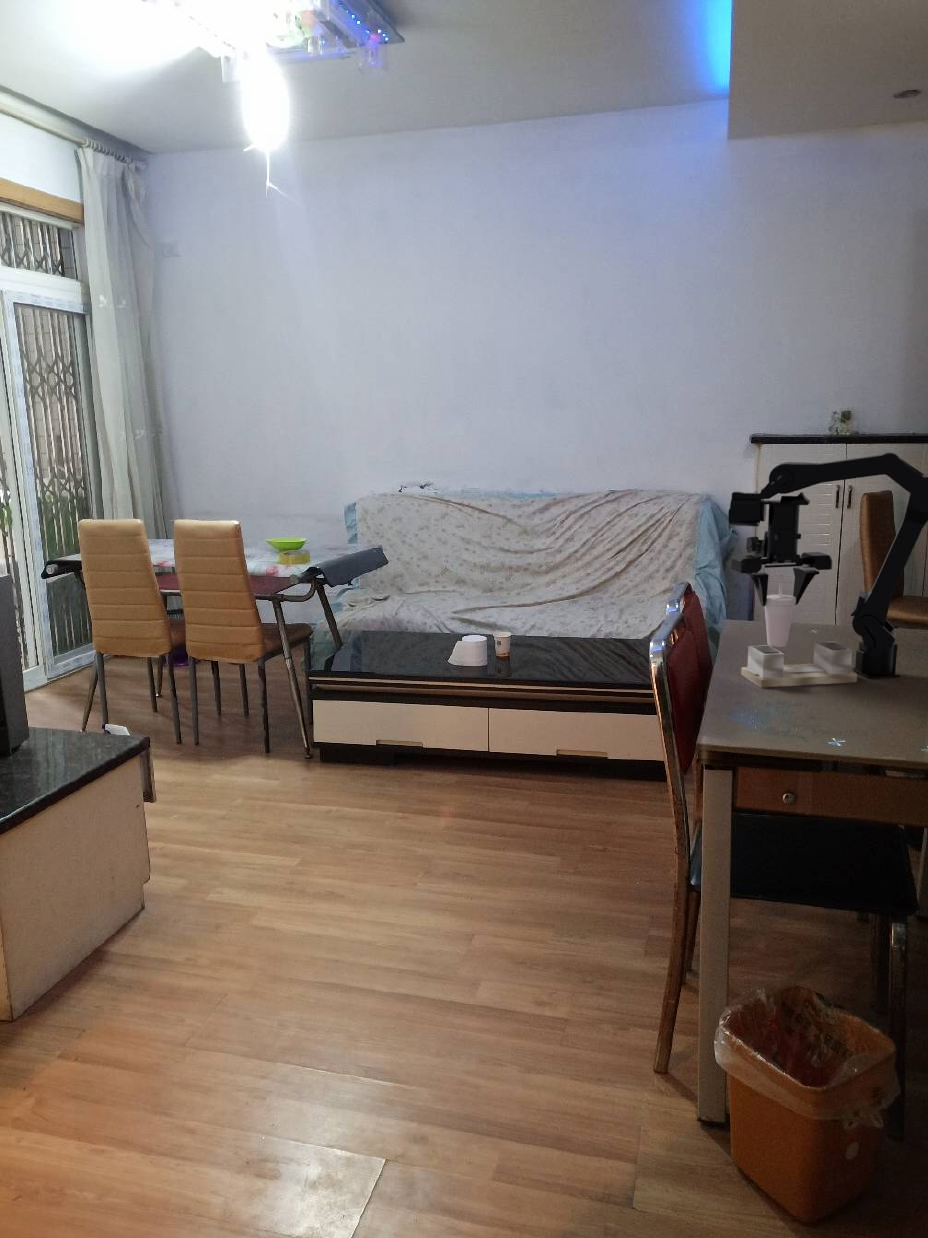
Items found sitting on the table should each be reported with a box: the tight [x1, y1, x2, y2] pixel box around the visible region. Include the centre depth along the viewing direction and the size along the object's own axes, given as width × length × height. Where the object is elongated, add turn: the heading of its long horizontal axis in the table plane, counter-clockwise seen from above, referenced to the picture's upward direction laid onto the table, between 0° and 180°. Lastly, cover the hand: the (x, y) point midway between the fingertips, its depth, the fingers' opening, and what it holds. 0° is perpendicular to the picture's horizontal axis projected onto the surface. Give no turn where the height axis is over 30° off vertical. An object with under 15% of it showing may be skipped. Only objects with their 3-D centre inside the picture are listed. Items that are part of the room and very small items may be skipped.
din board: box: [740, 641, 858, 689], centre depth 187 cm, size 19×9×6 cm, turn 97°
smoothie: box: [764, 574, 796, 648], centre depth 194 cm, size 6×6×14 cm
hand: (779, 605), depth 194 cm, fingers closed on smoothie, 6 cm apart
